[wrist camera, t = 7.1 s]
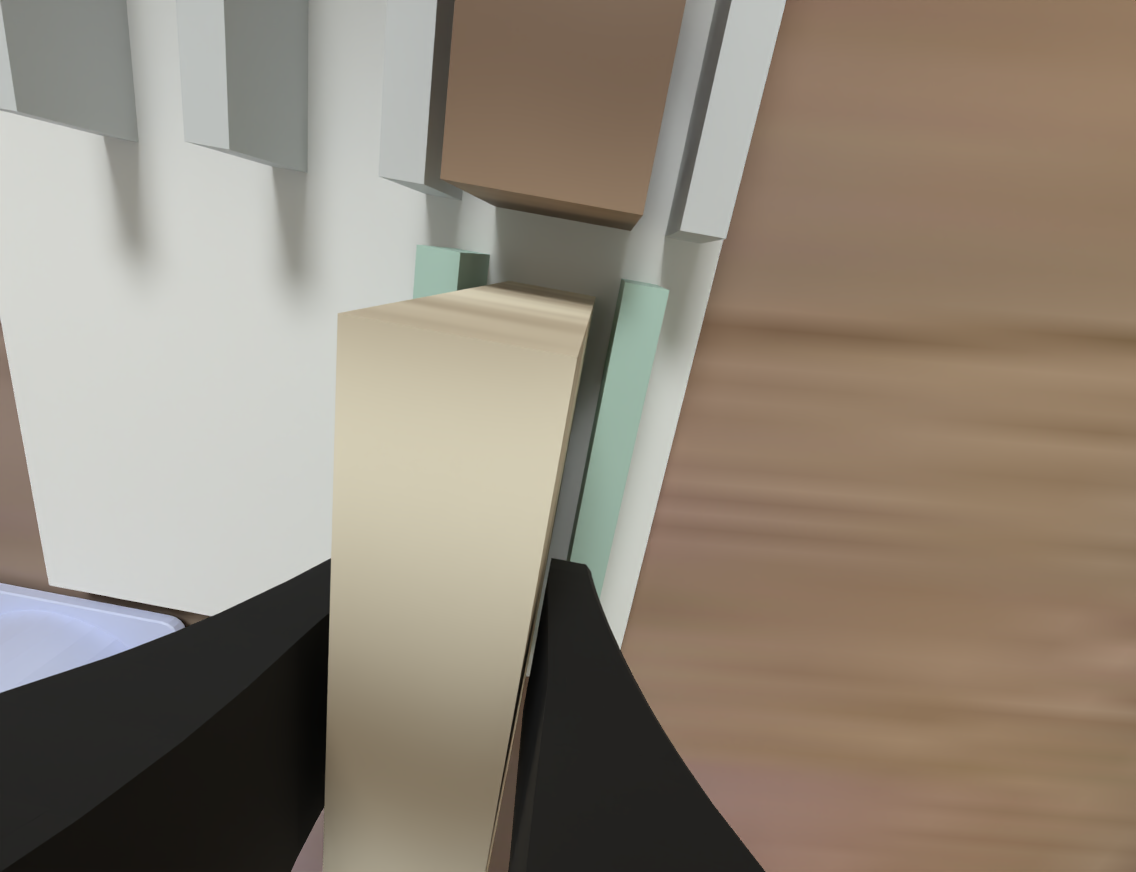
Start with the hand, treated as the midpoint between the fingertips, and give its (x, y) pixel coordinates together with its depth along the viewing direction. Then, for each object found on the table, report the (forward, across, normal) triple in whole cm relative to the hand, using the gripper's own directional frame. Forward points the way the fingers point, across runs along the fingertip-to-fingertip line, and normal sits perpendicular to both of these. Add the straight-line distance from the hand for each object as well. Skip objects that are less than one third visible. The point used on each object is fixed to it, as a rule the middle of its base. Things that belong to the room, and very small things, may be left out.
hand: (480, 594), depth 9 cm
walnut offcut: (+5, 0, -8) cm, 10 cm away
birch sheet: (+5, 0, 0) cm, 5 cm away
